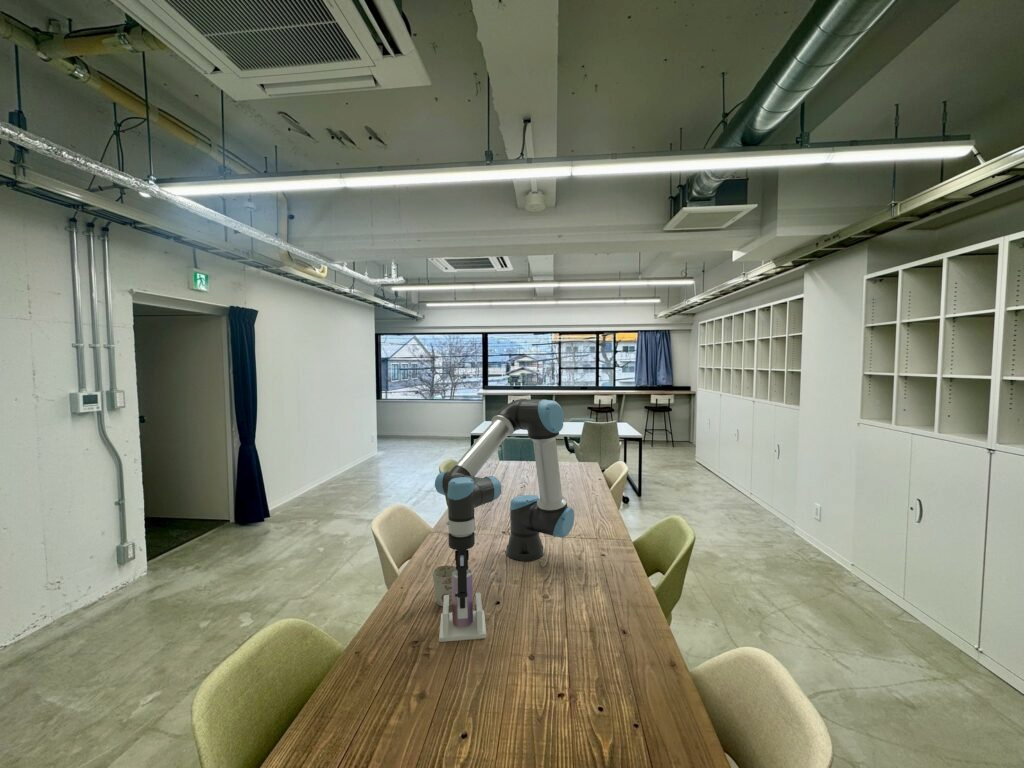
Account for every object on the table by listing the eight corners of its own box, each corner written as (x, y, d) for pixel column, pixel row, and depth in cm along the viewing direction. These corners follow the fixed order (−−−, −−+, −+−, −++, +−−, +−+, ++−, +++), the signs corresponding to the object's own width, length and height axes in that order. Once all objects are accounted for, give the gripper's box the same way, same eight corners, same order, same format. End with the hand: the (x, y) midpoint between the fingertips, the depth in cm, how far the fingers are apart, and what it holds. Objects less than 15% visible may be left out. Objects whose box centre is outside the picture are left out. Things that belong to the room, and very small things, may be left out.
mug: (434, 610, 132) (433, 578, 132) (430, 590, 144) (430, 561, 144) (460, 606, 135) (460, 575, 134) (455, 587, 147) (454, 558, 146)
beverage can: (473, 616, 127) (472, 567, 126) (472, 628, 121) (471, 577, 120) (453, 617, 126) (452, 567, 126) (451, 629, 120) (450, 578, 120)
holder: (441, 617, 129) (440, 593, 128) (483, 613, 130) (483, 590, 130) (439, 642, 117) (438, 616, 117) (486, 638, 118) (486, 612, 118)
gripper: (449, 518, 135) (450, 584, 135) (447, 551, 110) (448, 631, 111) (473, 517, 136) (474, 582, 136) (476, 549, 111) (477, 629, 111)
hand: (462, 604), depth 123 cm, fingers open, 13 cm apart
